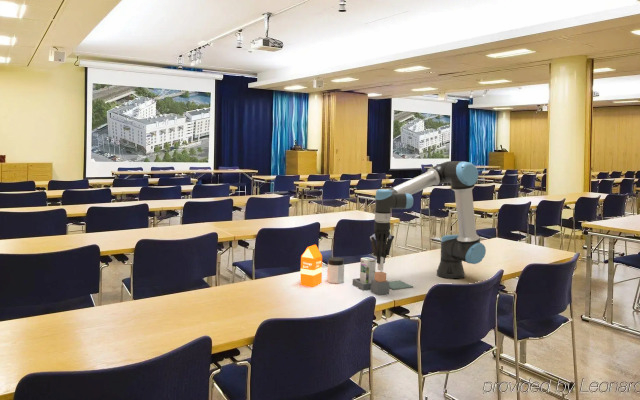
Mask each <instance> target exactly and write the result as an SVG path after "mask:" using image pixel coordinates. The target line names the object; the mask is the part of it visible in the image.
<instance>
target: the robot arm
mask: <svg viewBox="0 0 640 400" xmlns="http://www.w3.org/2000/svg"><path fill="white" fill-rule="evenodd" d="M478 170H479V169H478V168H477V167H476V165H475V164H473V163H472V162H470V161H469V162H468V161H459V160H458V161H452V160H451V161H450V160H449V161H445V162H442V163H439V164H436V165H435V166H433V167H430V168H428V169H427V171H426V172H424V173H422V174H420V175H418V176H415V177H413V178H411V179H409V180H407V181H404V182H402V183H400V184H397V185H395V186H393V187H392V188H389V189H387V188H386V189H385V188H383V189H382V188H379V189H377V190H376V191H375V197H374V198H375V199H374V200H375V201H374V203H375V205H374V225H373V226H374V227H373V228H374V229H373V230H374V232H373V234H372V235H369V237H368V238H369V240H370V244H371V249H372V255H373V256H374V257H376V264H377V271H379V272H381V271H382V272H384V264H385V263H386V258H387V257H388V256H389V255H390V252H391V247H392V243H393V240H394V239H395V236H394V235H392V234H391V232H390V230H391V215H392V214H391V213H392V210H407V209H412V207H413V205H414V197H413V195H414V194H417V193H419V192H421V191H423V190H425V189H427V188H430V187H431V186H438V185H441V184H450V187H451V188H450V189H451V190H452V191H454V197H455V205H456V206H455V207H456V215H457V225H458V234H445V235H443V236H442V237H441V241H440V260H439V264H438V267H437V269H436V276H437V275H438V276H437V277H439V276H441V277H440V278H443V277H445V278H444V279H448V278H461V279H464V278H465V277H464V276H465V274H466V273H465V269H464V266H463V262H464V263H466V264H472V265H476V264H479V263H480V262H482V261H483V259H484V258H485V255H486V252H487V249H486V246H485V245H484V243H482V242H481V237H480V236H479V234H477V227H476V219H475V207H474V198H473V189H474V188H475V187H476V186H475V185H476V184H477V181H478V179H479V171H478ZM463 277H464V278H463Z"/></svg>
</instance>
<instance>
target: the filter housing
mask: <svg viewBox="0 0 640 400" xmlns="http://www.w3.org/2000/svg"><path fill="white" fill-rule="evenodd" d="M389 282H390V280H389V281H388V280H386V282H377V281H375V279H374V280H372V281H371V283H367V284H364V283H362V282H360V277H358V278H352V285H353V286H354V287H356V288H358V289H360V290H361V291H370V292H371V293H373V294H375V295H376V296H382V295H383V296H384V295H389V294H390V288H389Z"/></svg>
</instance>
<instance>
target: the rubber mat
mask: <svg viewBox="0 0 640 400" xmlns="http://www.w3.org/2000/svg"><path fill="white" fill-rule="evenodd" d="M411 288H414V285H412V284H409V283H407V282H404V281H402V280H401V279H400V280H399V279H398V280H391V281H390V280H389V290H393V291H395V290H404V289H405V290H406V289H411Z"/></svg>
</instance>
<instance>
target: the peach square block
mask: <svg viewBox="0 0 640 400" xmlns="http://www.w3.org/2000/svg"><path fill="white" fill-rule="evenodd" d="M375 281H377V282H386V281H387V272H384V271H375Z"/></svg>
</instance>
